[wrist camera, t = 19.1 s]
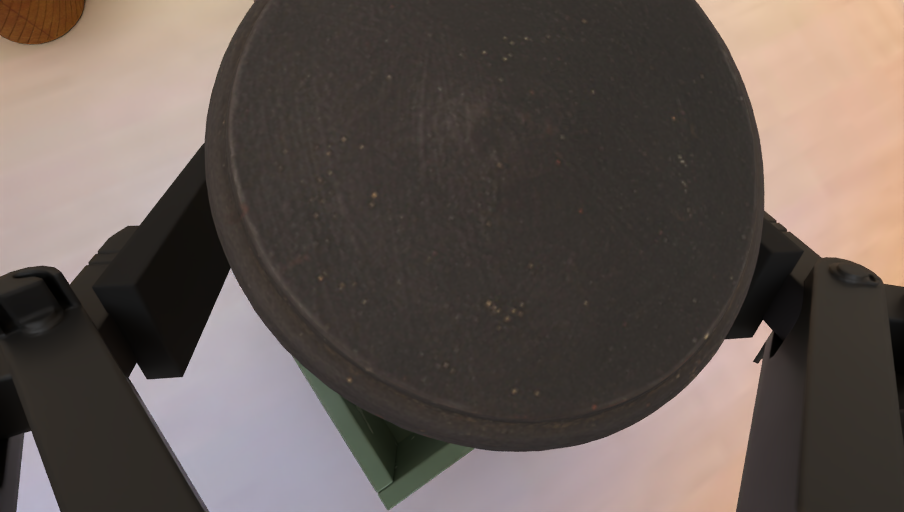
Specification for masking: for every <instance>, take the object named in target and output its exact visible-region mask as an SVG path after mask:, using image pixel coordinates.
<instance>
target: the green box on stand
mask: <svg viewBox="0 0 904 512" xmlns="http://www.w3.org/2000/svg"><path fill="white" fill-rule="evenodd" d="M255 1H256V0H254V2H255ZM292 357H293V356H292ZM293 358H294V357H293ZM294 360H295V361H296V363H297V365H298V366H299V368H300V369H301V371H302V373H303V374H304V376H305V378H306V379H307V381H308V382H309V384H310V386H311V387H312V389H313V391H314V392H315V394H316V395H317V397H318V399H319V400H320V402H321V403H322V405H323V407H324V408H325V410H326V412H327V413H328V415H329V416H330V418H331V420H332V421H333V423H334V425H335V426H336V428H337V429H338V431H339V433H340V434H341V436H342V438H343V439H344V441H345V442H346V444H347V446H348V447H349V449H350V450H351V452H352V454H353V455H354V457H355V459H356V460H357V462H358V463H359V465H360V467H361V468H362V470H363V472H364V473H365V475H366V476H367V478H368V480H369V481H370V483H371V485H372V486H373V488H374V489H375V491H376V492H377V493H378V496H379V498H380V499H381V501H382V502H383V504H384V506H385V507H386V509H387V510H390V509H392V508H393V507H394V506H396V505H397V504H398V503H400V502H401V501H403V500H404V499H405V498H407V497H408V496H410V495H411V494H412V493H414V492H415V491H416V490H418V489H419V488H421V487H422V486H423V485H425V484H426V483H428V482H429V481H430V480H432V479H433V478H434V477H436V476H437V475H439V474H440V473H441V472H443V471H444V470H446V469H447V468H448V467H450V466H451V465H452V464H454V463H455V462H457V461H458V460H459V459H461V458H462V457H464V456H465V455H466V454H468V453H469V452H470V451H472V450H473V449H475V448H471V447H465V446H460V445H456V444H451V443H447V442H444V441H440V440H436V439H433V438H429V437H426V436H423V435H420V434H417V433H414V432H411V431H409V430H406V429H403V428H401V427H399V426H397V425H395V424H393V423H391V422H389V421H387V420H384V419H382V418H380V417H378V416H375V415H373V414H371V413H369V412H367V411H366V410H364V409H362V408H360V407H358V406H356V405H355V404H353V403H351V402H349V401H348V400H346V399H345V398H343V397H342V396H341V395H339V394H338V393H337V392H335V391H333V390H332V389H330V388H329V387H328V386H326V385H325V384H324V383H323V382H322V381H320V380H319V379H318V378H317V377H316V376H314V375H313V374H312V373H311V372H310V371H308V370H307V369H306V368H305V367H304V366H303V365H302V364H301V363H300V362H299V361H298V360H297V359H295V358H294Z"/></svg>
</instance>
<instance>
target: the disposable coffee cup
mask: <svg viewBox="0 0 904 512" xmlns="http://www.w3.org/2000/svg"><path fill="white" fill-rule="evenodd" d="M84 1H85V0H0V35H1V36H2V37H4V38H7V39H9V40H11V41H14V42H18V43H24V44H40V43H45V42H49V41H52V40H54V39H56V38H58V37H60V36H62V35H64V34H65V33H67V32H68V31H69V30H70V29H71V28H72V27H73V26H74V25H75V24H76V22H77V21H78V19H79V18H80V16H81V14H82V11H83V7H84Z"/></svg>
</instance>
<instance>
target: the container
mask: <svg viewBox="0 0 904 512" xmlns="http://www.w3.org/2000/svg"><path fill="white" fill-rule="evenodd" d="M205 174H206V184H207V189H208V197H209V203H210V207H211V213H212V217H213V221H214V224H215V228H216V231H217V234H218V238H219V240H220V242H221V245H222V248H223V250H224V253H225V255H226V258H227V260H228V262H229V265H230V267H231V269H232V271H233V273H234V275H235V277H236V279H237V281H238V283H239V285H240V286H241V288H242V290H243V291H244V293H245V295H246V296H247V298H248V300H249V301H250V303H251V305H252V307H253V308H254V310H255V312H256V313H257V314H258V316H259V317H260V318H261V320H262V321H263V322H264V324H265V325H266V326H267V328H268V329H269V330H270V331H271V332H272V334H273V335H274V336H275V337H276V338H277V340H278V341H279V342H280V344H281V345H282V346H283V347H284V348H285V349H286V350H287V351H288V352H289V353H290V354H291V355H292V356H293V357H294V358H295V359H297V360H298V361H299V362H300V363H301V364H302V365H303V366H304V367H305V368H306V369H307V370H308V371H310V372H311V373H312V374H313V375H314V376H316V377H317V378H318V379H319V380H320V381H322V382H323V383H324V384H325V385H326V386H328V387H329V388H330V389H332V390H333V391H335V392H337V393H338V394H339V395H341V396H342V397H343V398H345V399H346V400H348V401H349V402H351V403H353V404H355V405H356V406H358V407H360V408H362V409H364V410H366V411H367V412H369V413H371V414H373V415H375V416H378V417H380V418H382V419H384V420H387V421H389V422H391V423H393V424H395V425H397V426H399V427H401V428H403V429H406V430H409V431H411V432H414V433H417V434H420V435H423V436H426V437H429V438H433V439H436V440H440V441H444V442H447V443H451V444H456V445H460V446H465V447H471V448H477V449H483V450H491V451H514V452H526V451H543V450H550V449H557V448H564V447H571V446H576V445H581V444H585V443H588V442H591V441H595V440H598V439H601V438H604V437H607V436H609V435H612V434H614V433H616V432H619V431H621V430H623V429H625V428H627V427H629V426H631V425H633V424H635V423H637V422H639V421H640V420H642V419H643V418H645V417H647V416H648V415H650V414H652V413H653V412H655V411H656V410H658V409H659V408H660V407H662V406H663V405H664V404H666V403H667V402H668V401H670V400H671V399H673V398H674V397H675V396H676V395H677V394H679V393H680V392H681V391H682V390H683V389H684V388H685V387H686V386H687V385H688V384H689V383H690V382H691V381H693V379H694V378H695V377H696V376H697V375H698V374H699V373H700V372H701V371H702V369H703V368H704V367H705V366H706V365H707V364H708V363H709V361H710V360H711V359H712V357H713V356H714V355H715V353H716V352H717V351H718V349H719V347H720V346H721V344H722V343H723V341H724V339H725V338H726V336H727V334H728V332H729V331H730V329H731V327H732V325H733V323H734V321H735V319H736V317H737V315H738V313H739V311H740V309H741V307H742V305H743V302H744V300H745V298H746V295H747V292H748V290H749V287H750V283H751V280H752V277H753V274H754V270H755V267H756V263H757V258H758V254H759V248H760V242H761V234H762V227H763V218H764V174H763V160H762V152H761V145H760V139H759V134H758V129H757V125H756V121H755V117H754V113H753V109H752V106H751V102H750V100H749V97H748V94H747V91H746V88H745V85H744V83H743V80H742V78H741V75H740V73H739V71H738V69H737V66H736V64H735V62H734V60H733V58H732V56H731V54H730V52H729V50H728V48H727V46H726V44H725V43H724V41H723V39H722V38H721V36H720V35H719V33H718V32H717V30H716V29H715V27H714V25H713V24H712V23H711V21H710V20H709V18H708V17H707V15H706V14H705V13H704V11H703V10H702V8H701V7H700V6H699V4H698V3H697V2H696V1H695V0H256V1H255V2H254V4H253V5H252V6H251V8H250V9H249V11H248V12H247V14H246V15H245V17H244V19H243V20H242V22H241V23H240V25H239V26H238V28H237V30H236V32H235V34H234V36H233V38H232V40H231V42H230V44H229V46H228V48H227V50H226V52H225V54H224V57H223V59H222V62H221V65H220V68H219V70H218V74H217V77H216V80H215V84H214V87H213V90H212V94H211V99H210V104H209V109H208V114H207V121H206V132H205Z"/></svg>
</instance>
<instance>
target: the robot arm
mask: <svg viewBox="0 0 904 512" xmlns="http://www.w3.org/2000/svg"><path fill="white" fill-rule="evenodd" d="M230 268H231V267H230V265H229V262H228V260H227V258H226V255H225V253H224V250H223V248H222V245H221V242H220V240H219V238H218V234H217V231H216V228H215V224H214V221H213V217H212V213H211V207H210V203H209V197H208V189H207V184H206V174H205V143H204V144H203V145H202V146H201V147H200V149H199V150H198V151H197V153H196V154H195V155H194V156H193V158H192V159H191V160H190V162H189V163H188V164H187V165H186V167H185V168H184V169H183V171H182V172H181V173H180V174H179V176H178V177H177V178H176V180H175V181H174V182H173V183H172V185H171V186H170V187H169V189H168V190H167V191H166V192H165V194H164V195H163V196H162V197H161V199H160V200H159V201H158V203H157V204H156V205H155V206H154V208H153V209H152V210H151V212H150V213H149V214H148V215H147V217H146V218H145V219H144V221H143V222H142V223H141V224H140V226H127V227H125V228H124V229H122V230H121V231H119V232H118V233H116V234H115V235H113V236H112V237H110V238H109V239H108V240H107V241H106V242H105V244H104V245H103V246H102V247H101V248H100V249H99V251H98V254H95V255H94V257H93V258H92V259H91V260H90V261H89V265H86V266H85V267H84V268H83V270H82V271H81V272H80V273H79V274H78V276H77V277H76V278H75V279H74V280H73V282H72V283H71V284H70V285H69V283H68V282H67V280H66V279H65V277H64V276H63V274H62V272H60V271H59V270H58V269H56V268H55V267H48V266H36V267H27V268H24V269H20V270H17V271H13V272H10V273H8V274H5V275H3V276H1V277H0V512H16V509H17V499H18V489H19V479H20V469H21V459H22V449H23V439H24V433H25V432H29V431H32V434H33V437H34V440H35V442H36V445H37V448H38V451H39V453H40V456H41V459H42V462H43V464H44V467H45V470H46V473H47V475H48V478H49V481H50V484H51V487H52V489H53V492H54V495H55V498H56V500H57V503H58V506H59V509H60V511H61V512H209V510H208V509H207V507H206V505H205V504H204V502H203V500H202V499H201V497H200V496H199V494H198V492H197V491H196V489H195V487H194V486H193V484H192V482H191V481H190V479H189V477H188V476H187V474H186V472H185V471H184V469H183V467H182V466H181V464H180V462H179V461H178V459H177V457H176V456H175V454H174V452H173V451H172V449H171V447H170V446H169V444H168V442H167V441H166V439H165V437H164V436H163V434H162V432H161V431H160V429H159V427H158V426H157V424H156V422H155V421H154V419H153V417H152V416H151V414H150V412H149V411H148V409H147V407H146V406H145V404H144V402H143V401H142V399H141V397H140V396H139V394H138V392H137V391H136V389H135V387H134V386H133V384H132V383H131V381H130V379H129V378H128V377H129V376H130V374H131V372H132V370H133V368H134V367H135V365H136V363H137V364H138V365H139V367H140V369H141V370H142V372H143V374H144V375H145V377H146V379H160V378H174V377H183V375H184V373H185V371H186V368H187V366H188V364H189V361H190V359H191V357H192V355H193V352H194V350H195V348H196V346H197V343H198V341H199V339H200V336H201V334H202V332H203V330H204V327H205V325H206V323H207V320H208V318H209V316H210V314H211V311H212V309H213V307H214V305H215V302H216V300H217V298H218V295H219V293H220V291H221V289H222V286H223V284H224V282H225V279H226V277H227V275H228V273H229V270H230ZM762 320H764V321H765V322H766V323H767V324H768V326H769V327H770V328H771V329H772V330H773V331H772V333H771V334H770V336H769V337H768V339H767V340H766V342H765V344H764V345H763V347H762V348H761V350H760V351H759V353H758V355H757V356H756V358H755V359H754V361H753V362H755V363H759V361H760V360H761V359H763V361H762V367H761V372H760V378H759V384H758V389H757V395H756V401H755V407H754V412H753V418H752V424H751V429H750V435H749V441H748V446H747V452H746V458H745V464H744V469H743V475H742V481H741V486H740V492H739V498H738V504H737V509H736V512H904V287H901V286H894V285H888V284H883V282H882V280H881V278H879V277H878V276H877V275H876V274H875V273H874V272H872V271H871V270H869V269H867V268H865V267H864V266H862V265H859V264H857V263H854V262H851V261H849V260H844V259H840V258H828V257H825V258H821V257H820V256H819V255H818V254H816V253H815V252H814V251H813V250H812V249H810V248H809V247H808V246H807V245H805V244H804V243H803V242H802V241H801V240H799V239H798V238H797V237H796V236H794V235H793V234H792V233H791V232H787V229H786V228H785V227H784V226H782V225H781V224H780V223H776V220H775V219H774V218H773V217H771V216H770V215H769V214H768V213H766V212H765V211H764V218H763V227H762V234H761V242H760V248H759V254H758V258H757V263H756V267H755V270H754V274H753V277H752V280H751V283H750V287H749V290H748V292H747V295H746V298H745V300H744V302H743V305H742V307H741V309H740V311H739V313H738V315H737V317H736V319H735V321H734V323H733V325H732V327H731V329H730V331H729V332H728V334H727V336H726V338H725V339H736V338H750V337H753V335H754V334H755V332H756V330H757V329H758V327H759V325H760V324H761V322H762Z"/></svg>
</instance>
